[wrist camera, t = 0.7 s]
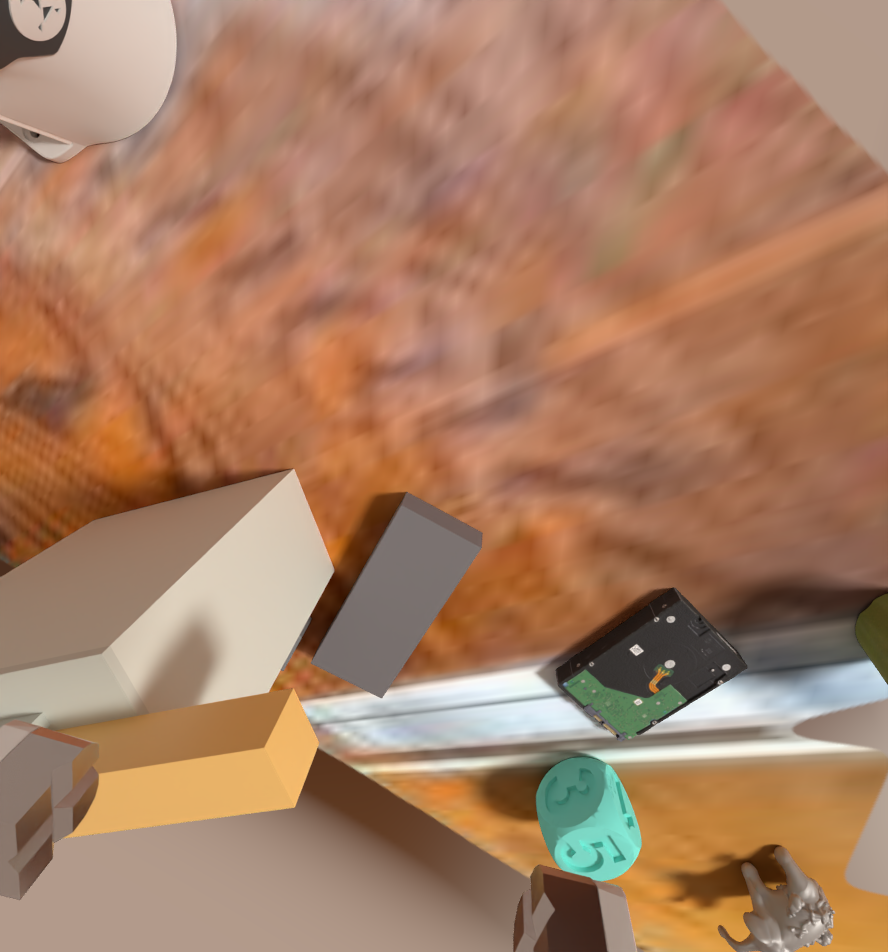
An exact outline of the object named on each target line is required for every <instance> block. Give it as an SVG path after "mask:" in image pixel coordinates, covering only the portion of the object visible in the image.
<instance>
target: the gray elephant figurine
mask: <svg viewBox="0 0 888 952" xmlns="http://www.w3.org/2000/svg"><path fill="white" fill-rule="evenodd" d="M774 855H775V858H776V860H777V861H778V862H779V864H780V865H781V866H782V867H783V869H784V871H785V873H786V877H787V880H786V883H787V884H786V885H782V884H780V886H776V888H777V890H771V889H768V888H767V887H766V886H765V885H764V883H763V882H762V880H761V879H760V877H759V874H758V871H757V869H756V868H755V867H754V866H753V865H752V864H751V863H748V862H746V863H743V864H742V867H741V869H742V874H743V876H744V878H745V880H746V883H747V887H748V890H749V893H750V896H751V900H752V905H753V911H752V912H750V913H749V912H745V913H744V915H743V919H744V922H745V924H746V926H747V927H748V929H749V930H750V932H751V933H750V935H749V936H748V937H747V938H746V939H745V940H743V941H742V942H737V941H735V940H734V939H732V938H731V937H730V936H729V934H728V933H727V931H726V929H725V928H724V927H723V926H721V925H719V926H718V931H719V933H720V935H721V936H722V937H723V938H725V939H726V940H727V942H728V943H729V945H730V946H731V947H732V948H733V949H734V950H736V951H737V952H749V951H761V952H794V951H796V950H798V949H799V948H801V947H802V946H806V947H809V944H810V945H814V942H815V941H816V942H818V943H819V944H821V945H822V946H827V945H829V944H831V940H832V939H833V935H832V934H831V933H830V931H829V930H828V928H833V919H832V918H833V915H832V914H835V912H834V911H833V910H832V908H831V907H830V906H829V903H828V900H827V898H826V897H825V895H824V892H823V890H822V888H821V887H820V886H819V885H818V883H817V882H816V881H815V880H814V879H812V878H808V877H807V876H806V875H805V874H804V873H803V872H802V871H801V869H800V868H799V867H798V865H797V864H796V863H795V861H794V860H793V859H792V857H791V856H790V854H789V852H788V851H787V849H785V848H784V847H781V846H778V847H776V848H775V850H774Z"/></svg>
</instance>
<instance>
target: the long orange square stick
mask: <svg viewBox="0 0 888 952" xmlns="http://www.w3.org/2000/svg"><path fill="white" fill-rule="evenodd" d="M55 731H57V732H60V733H64V734H67V735H71V736H74V737H77V738H81V739H84V740H88V741H91V742H94V743H98V744H99V758H98V759H97V760H96V762H95V763H94V764H93V765H92V766H93V767H94V769H95V770H96V771H97V773H98V774H99V785H98V789H97V792H96V796H95V799H94V801H93V802H92V804H91V806H90V808H89V810H88V812H87V814H86V816H85V817H84V818H83V820H82V821H81V822H80V824H79V825H78V826H77V828H76V829H75V830H74V832H73V833H71V834H70V835H68V836H66V837H64V838H70V837H77V836H85V835H93V834H100V833H108V832H115V831H123V830H130V829H137V828H145V827H153V826H160V825H166V824H175V823H182V822H190V821H197V820H204V819H211V818H220V817H227V816H234V815H242V814H249V813H257V812H265V811H272V810H280V809H287V808H294V807H295V805H296V803H297V800H298V797H299V795H300V792H301V790H302V787H303V784H304V781H305V779H306V776H307V774H308V771H309V768H310V766H311V763H312V760H313V758H314V755H315V753H316V750H317V747H318V745H319V742H318V740H317V737H316V735H315V733H314V731H313V729H312V727H311V725H310V722H309V720H308V718H307V716H306V714H305V712H304V710H303V707H302V705H301V703H300V701H299V699H298V697H297V695H296V692H295V690H294V688H292V689H286V690H280V691H275V692H269V693H263V694H258V695H252V696H246V697H241V698H235V699H230V700H224V701H218V702H213V703H207V704H201V705H196V706H190V707H184V708H179V709H173V710H168V711H162V712H156V713H151V714H145V715H139V716H134V717H128V718H122V719H117V720H111V721H106V722H100V723H94V724H89V725H83V726H77V727H72V728H66V729H60V730H55Z"/></svg>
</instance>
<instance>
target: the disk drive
mask: <svg viewBox="0 0 888 952" xmlns="http://www.w3.org/2000/svg"><path fill="white" fill-rule="evenodd" d="M745 669H747V665H746V663H745V662H744V660H743V659H742V657H741V655H740V654H739V653H738V652H737V650H736V649H734V647H733V646H732V645H731V644H730V643H729V642H728V641H727V640H726V639H725V638H724V637H723V636H722V635H721V634H720V633H719V632H718V631H717V630H716V629H715V628H714V627H713V626H712V625H711V624H710V623H709V622H708V621H707V620H706V619H705V618H704V617H703V616H702V615H701V614H700V612H698V610H697V609H696V608H695V607H694V606H693V605H692V604H691V603H690V602H689V601H688V600H687V599H685V598H684V597H683V595H681V593H680V592H679V591H678V590H677V589H676V588H671V589H670V590H669V591H668V592H666V593H665V594H663V595H661V596H659V597H658V598H657V599H655V600H653V601H652V602H651V603H650V604H649V605H648V606H646V607H645V608H643V609H642V610H641V611H639V612H638V613H636V614H635V615H633V616H632V617H630V618H629V619H628V620H626V621H625V622H623V623H622V624H621V625H619V626H618V627H616V628H615V629H613V630H612V631H611V632H609V633H608V634H606V635H605V636H604V637H602V638H601V639H599V640H598V641H596V642H595V643H593V644H592V645H591V646H589V647H588V648H586V649H585V650H583V651H582V652H580V653H578V654H577V655H575V656H574V657H572V658H571V659H570V660H569V661H567V662H566V663H565V664H563V665H562V666H560V667H559V668H557V669H556V676H557V682H558V686H559V687H560V688H561V689H562V690H563V691H564V692H565V693H567V694H568V695H569V696H570V697H571V698H572V699H573V700H574V701H575V702H576V703H578V704H579V705H580V706H581V707H583V709H584V710H585V711H586V712H587V713H588V714H589V715H590V716H593V717H594V718H595V719H597V720H598V721H599V723H601V722H602V723H601V724H602V725H603V726H604V727H605V728H607V729H608V730H609V731H610V732H611V733H612V734H613V735H616V737H617V740H620V741H623V740H624V739H625V738H627V739H628V740H629V739H631V738H633V737H634V736H636V735H640V734H642V733H644V732H646V731H647V730H649V729H650V728H651V727H653V726H654V725H656V724H657V723H660V722H661V721H663V720H664V719H666V718H668V717H669V716H671V715H673V714H674V713H676V712H678V711H679V710H681V709H683V708H684V707H686V706H687V705H689V704H690V703H692V702H694V701H695V700H697V699H698V698H700V697H702V696H704V695H705V694H707V693H708V692H710V691H712V690H713V689H715V688H717V687H718V686H720V685H721V684H723V683H725V682H727V681H729V680H730V679H732V678H733V677H735V676H736V675H738V674H739V673H741V672H742V671H743V670H745Z"/></svg>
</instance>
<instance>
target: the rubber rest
mask: <svg viewBox="0 0 888 952" xmlns="http://www.w3.org/2000/svg"><path fill="white" fill-rule="evenodd" d="M481 548H482V532H480V531H478V530H476V529H474V528H472V527H471V526H469V525H467V524H465V523H463V522H461V521H460V520H458V519H456V518H454V517H452V516H450V515H448V514H447V513H445V512H443V511H441V510H439V509H437V508H436V507H434V506H432V505H430V504H428V503H426V502H424V501H423V500H421V499H419V498H417V497H415V496H413V495H411V494H410V493H408V492H407V493H406V494H405V496H404V498H403V500H402V501H401V503H400V505H399V507H398V508H397V510H396V512H395V514H394V515H393V517H392V519H391V521H390V522H389V524H388V526H387V528H386V529H385V531H384V533H383V535H382V536H381V538H380V540H379V542H378V543H377V545H376V547H375V549H374V550H373V552H372V554H371V556H370V557H369V559H368V561H367V563H366V564H365V566H364V568H363V569H362V571H361V573H360V575H359V576H358V578H357V580H356V582H355V583H354V585H353V587H352V589H351V590H350V592H349V594H348V596H347V597H346V599H345V601H344V603H343V604H342V606H341V608H340V610H339V611H338V613H337V615H336V617H335V618H334V620H333V622H332V624H331V625H330V627H329V629H328V631H327V632H326V634H325V636H324V638H323V639H322V641H321V643H320V645H319V647H318V649H317V651H316V653H315V655H314V657H313V659H312V662H311V664H313V665H315V666H317V667H319V668H321V669H323V670H325V671H327V672H329V673H331V674H333V675H335V676H337V677H339V678H341V679H343V680H346V681H348V682H350V683H352V684H354V685H356V686H358V687H360V688H362V689H364V690H366V691H368V692H370V693H372V694H374V695H376V696H378V697H380V698H382V697H383V696H384V694H385V693H386V691H387V690H388V688H389V687H390V685H391V684H392V682H393V681H394V679H395V678H396V676H397V675H398V673H399V672H400V670H401V669H402V667H403V666H404V664H405V663H406V661H407V660H408V658H409V657H410V655H411V654H412V652H413V651H414V649H415V648H416V646H417V645H418V643H419V642H420V640H421V639H422V637H423V636H424V634H425V633H426V631H427V630H428V628H429V627H430V625H431V624H432V622H433V621H434V619H435V618H436V616H437V614H438V613H439V611H440V610H441V608H442V607H443V605H444V604H445V602H446V601H447V599H448V598H449V596H450V595H451V593H452V592H453V590H454V589H455V587H456V586H457V584H458V583H459V581H460V580H461V578H462V577H463V575H464V574H465V572H466V571H467V569H468V568H469V566H470V565H471V563H472V562H473V560H474V559H475V557H476V556H477V554H478V553H479V551H480V550H481Z"/></svg>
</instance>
